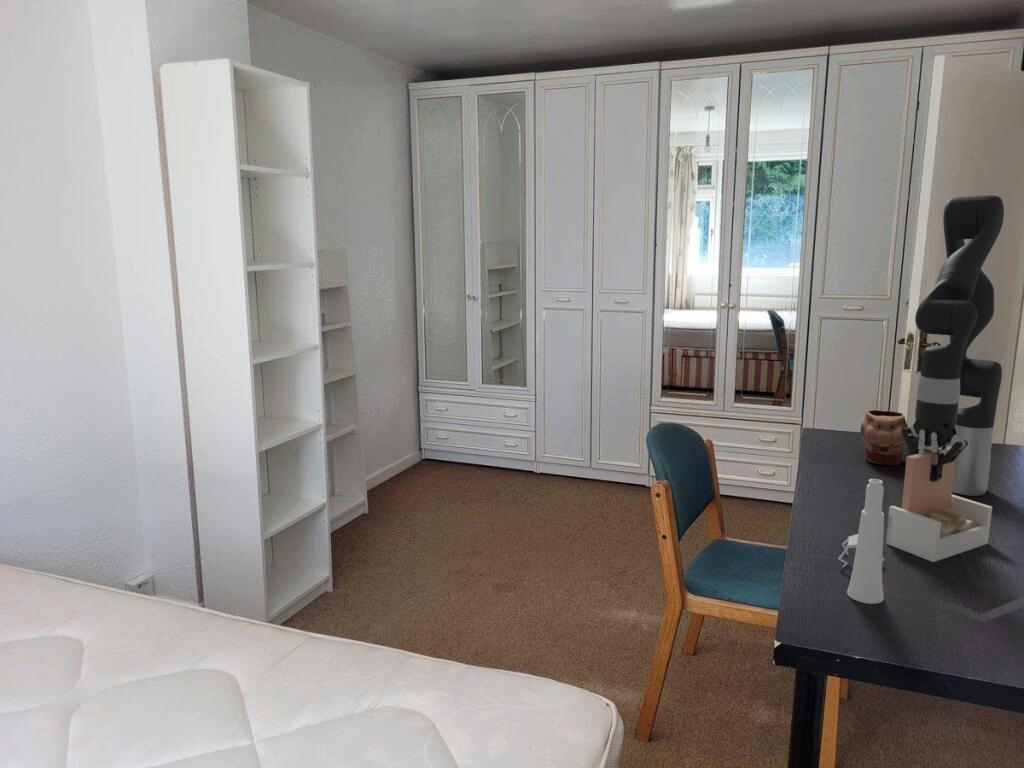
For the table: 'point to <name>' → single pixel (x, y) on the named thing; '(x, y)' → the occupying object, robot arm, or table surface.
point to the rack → (938, 531)
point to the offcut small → (949, 518)
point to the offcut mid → (956, 529)
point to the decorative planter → (883, 436)
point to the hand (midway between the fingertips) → (929, 479)
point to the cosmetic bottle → (869, 549)
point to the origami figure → (851, 544)
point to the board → (926, 485)
